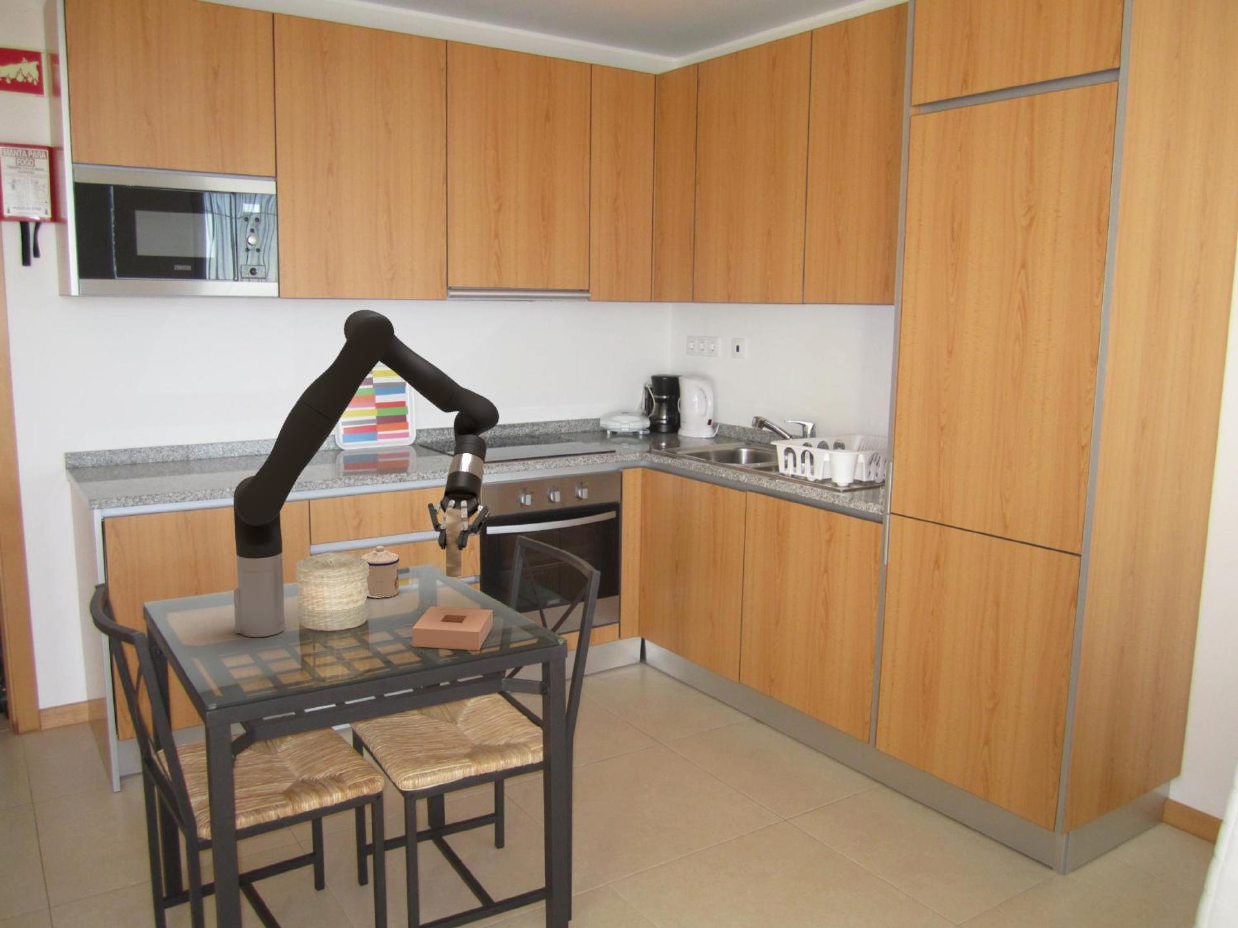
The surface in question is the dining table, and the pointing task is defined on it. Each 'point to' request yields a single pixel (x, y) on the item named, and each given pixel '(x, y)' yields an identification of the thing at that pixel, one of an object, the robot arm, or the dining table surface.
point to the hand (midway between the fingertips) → (451, 547)
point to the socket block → (452, 628)
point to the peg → (453, 542)
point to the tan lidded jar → (382, 572)
